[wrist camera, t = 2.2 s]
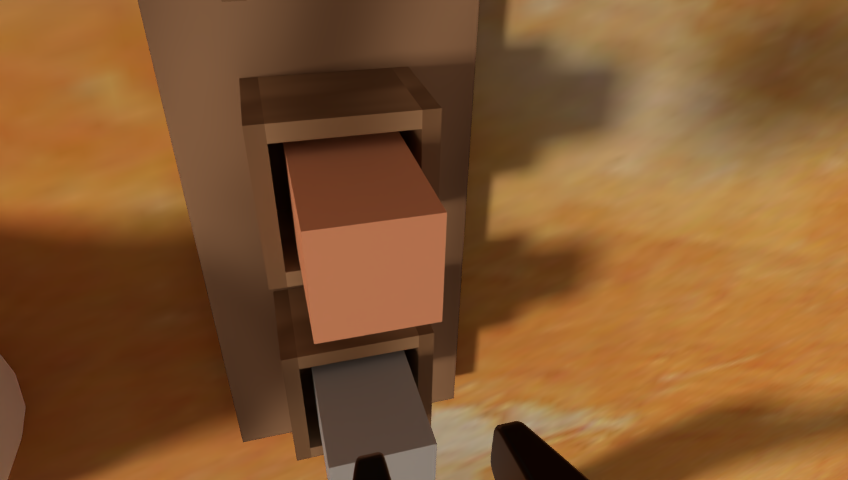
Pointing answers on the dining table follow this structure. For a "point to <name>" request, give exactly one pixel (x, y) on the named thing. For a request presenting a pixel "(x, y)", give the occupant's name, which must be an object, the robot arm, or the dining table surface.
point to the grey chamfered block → (373, 417)
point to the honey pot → (9, 418)
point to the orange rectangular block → (365, 235)
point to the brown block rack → (267, 178)
